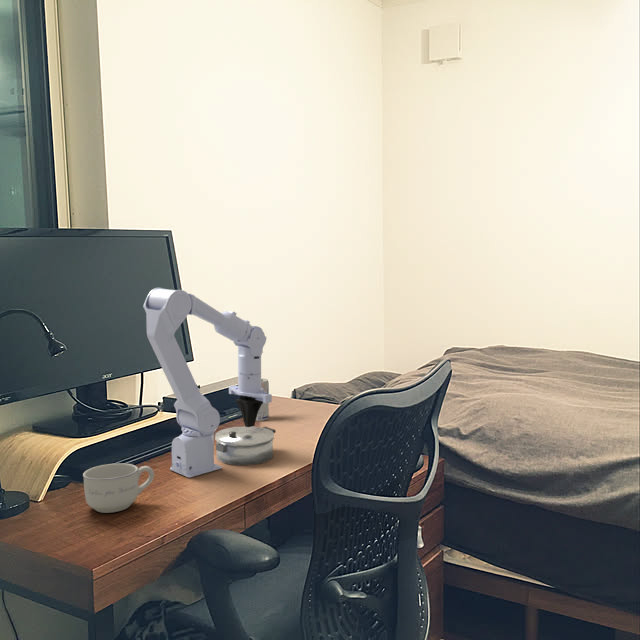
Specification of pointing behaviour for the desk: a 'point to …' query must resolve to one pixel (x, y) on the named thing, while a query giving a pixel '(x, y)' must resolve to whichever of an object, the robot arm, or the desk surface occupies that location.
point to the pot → (244, 454)
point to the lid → (245, 436)
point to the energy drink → (264, 409)
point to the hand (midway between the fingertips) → (249, 426)
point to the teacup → (114, 486)
